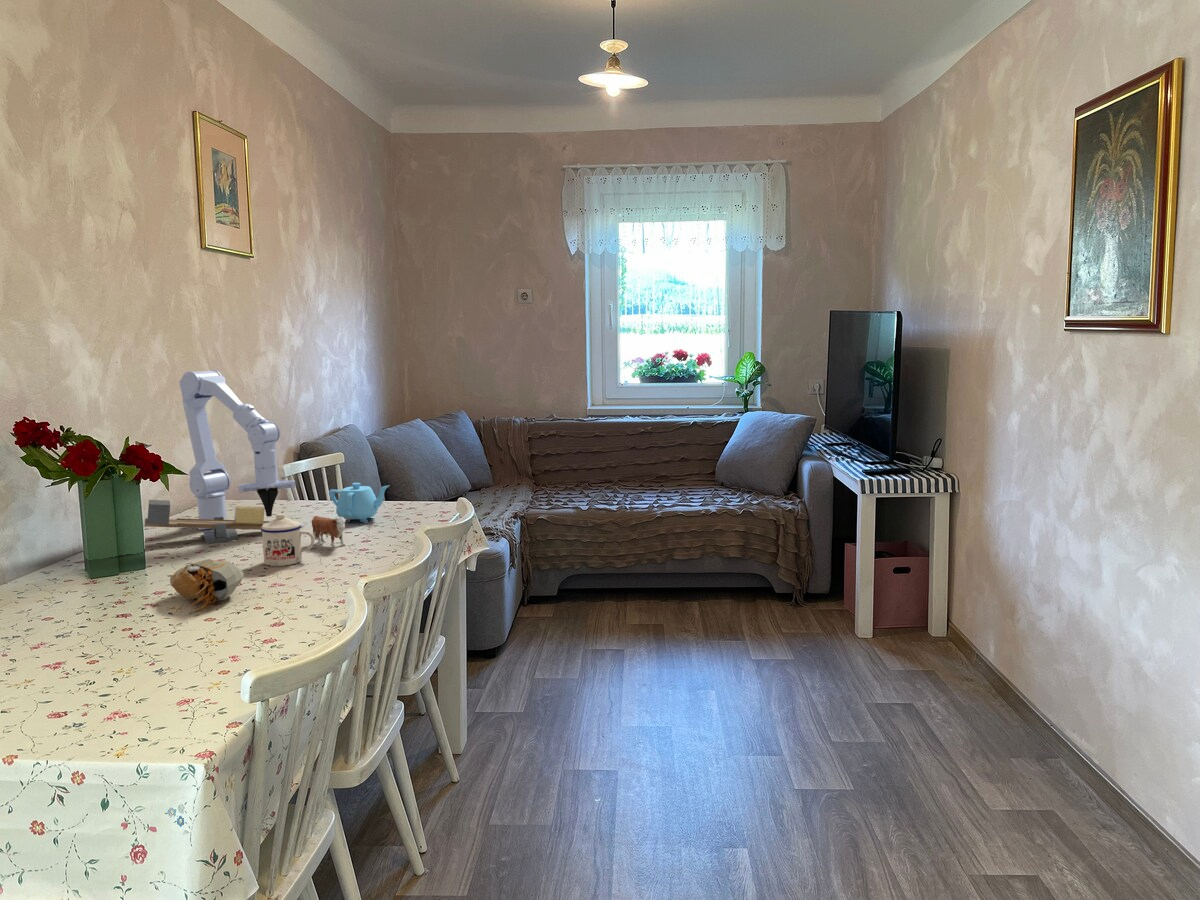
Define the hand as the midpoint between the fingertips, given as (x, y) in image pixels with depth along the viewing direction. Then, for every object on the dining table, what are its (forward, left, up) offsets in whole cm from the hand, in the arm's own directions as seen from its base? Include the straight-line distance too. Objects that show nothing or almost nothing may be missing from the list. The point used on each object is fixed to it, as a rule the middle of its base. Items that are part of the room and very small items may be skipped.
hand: (268, 515), depth 247 cm
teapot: (-4, +25, -5) cm, 26 cm away
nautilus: (+61, -20, -5) cm, 65 cm away
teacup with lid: (+36, 0, -5) cm, 36 cm away
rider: (0, -5, -2) cm, 6 cm away
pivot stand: (0, -13, -5) cm, 13 cm away
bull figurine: (+24, +12, -5) cm, 28 cm away
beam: (0, -13, -1) cm, 13 cm away
